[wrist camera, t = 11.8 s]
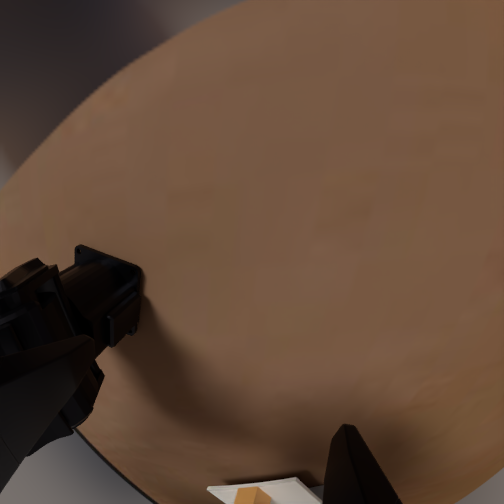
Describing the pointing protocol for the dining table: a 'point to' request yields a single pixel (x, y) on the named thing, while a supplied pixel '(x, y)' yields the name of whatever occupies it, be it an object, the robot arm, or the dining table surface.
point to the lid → (266, 493)
